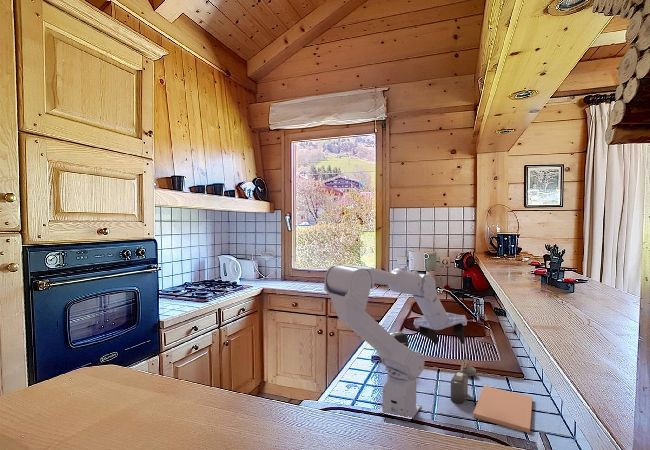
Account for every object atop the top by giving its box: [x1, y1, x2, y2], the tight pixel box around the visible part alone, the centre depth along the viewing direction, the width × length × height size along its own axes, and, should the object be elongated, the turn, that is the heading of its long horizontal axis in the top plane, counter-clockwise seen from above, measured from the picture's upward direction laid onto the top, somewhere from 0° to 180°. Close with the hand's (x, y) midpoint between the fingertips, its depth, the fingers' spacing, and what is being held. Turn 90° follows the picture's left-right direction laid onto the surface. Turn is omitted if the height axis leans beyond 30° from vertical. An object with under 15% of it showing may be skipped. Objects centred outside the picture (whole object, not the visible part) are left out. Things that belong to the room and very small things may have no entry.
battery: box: [389, 331, 409, 348], centre depth 115 cm, size 7×4×11 cm, turn 118°
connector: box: [450, 372, 469, 405], centre depth 96 cm, size 8×3×6 cm, turn 148°
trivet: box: [472, 385, 533, 434], centre depth 90 cm, size 18×12×1 cm, turn 148°
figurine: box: [460, 355, 477, 377], centre depth 111 cm, size 5×4×6 cm
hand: (450, 341), depth 102 cm, fingers open, 7 cm apart
